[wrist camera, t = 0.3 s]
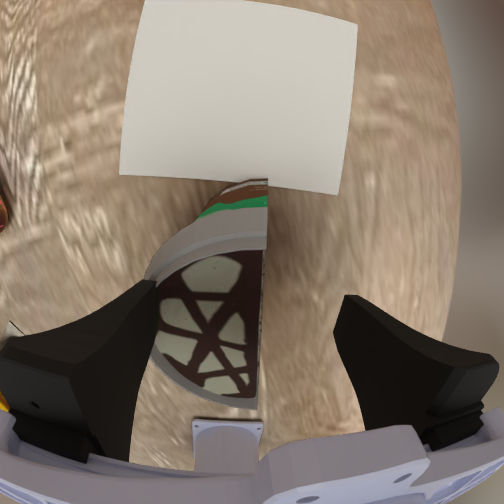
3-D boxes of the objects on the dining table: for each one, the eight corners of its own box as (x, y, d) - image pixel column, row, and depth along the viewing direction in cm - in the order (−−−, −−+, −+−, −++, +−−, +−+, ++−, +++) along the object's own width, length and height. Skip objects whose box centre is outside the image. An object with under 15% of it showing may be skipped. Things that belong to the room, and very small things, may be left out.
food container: (173, 155, 18) (95, 228, 10) (269, 155, 18) (267, 232, 9) (189, 301, 25) (159, 403, 16) (262, 305, 25) (256, 414, 16)
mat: (336, 194, 21) (337, 195, 21) (120, 174, 20) (119, 174, 19) (356, 25, 17) (357, 24, 16) (146, 1, 15) (145, -1, 15)
